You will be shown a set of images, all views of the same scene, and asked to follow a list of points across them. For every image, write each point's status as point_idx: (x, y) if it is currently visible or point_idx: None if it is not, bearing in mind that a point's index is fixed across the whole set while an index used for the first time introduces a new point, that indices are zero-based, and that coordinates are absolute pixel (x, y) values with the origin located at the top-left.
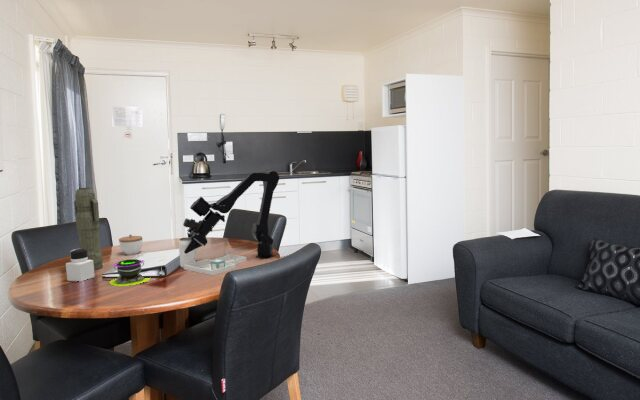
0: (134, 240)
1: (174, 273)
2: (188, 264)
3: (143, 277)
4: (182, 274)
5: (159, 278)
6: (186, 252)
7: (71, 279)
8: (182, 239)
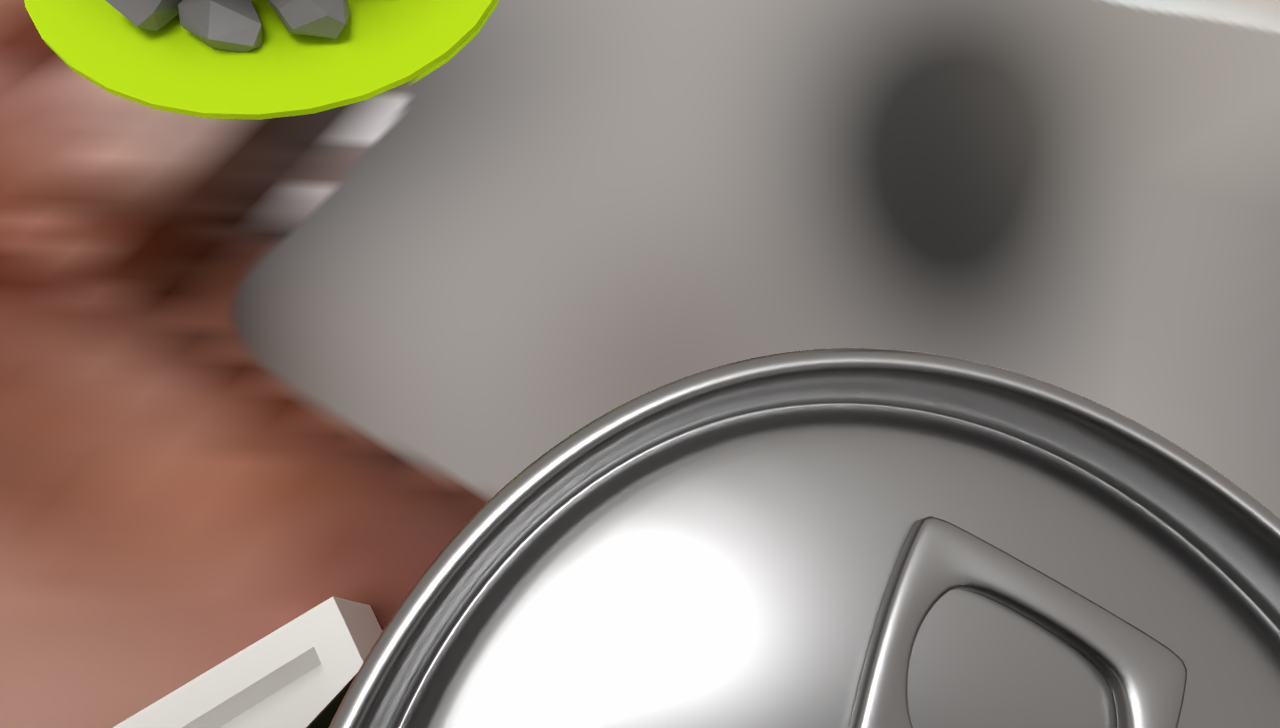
0: None
1: (254, 427)
2: None
3: (196, 27)
4: (67, 557)
5: (103, 210)
6: None
7: None
8: (985, 572)
